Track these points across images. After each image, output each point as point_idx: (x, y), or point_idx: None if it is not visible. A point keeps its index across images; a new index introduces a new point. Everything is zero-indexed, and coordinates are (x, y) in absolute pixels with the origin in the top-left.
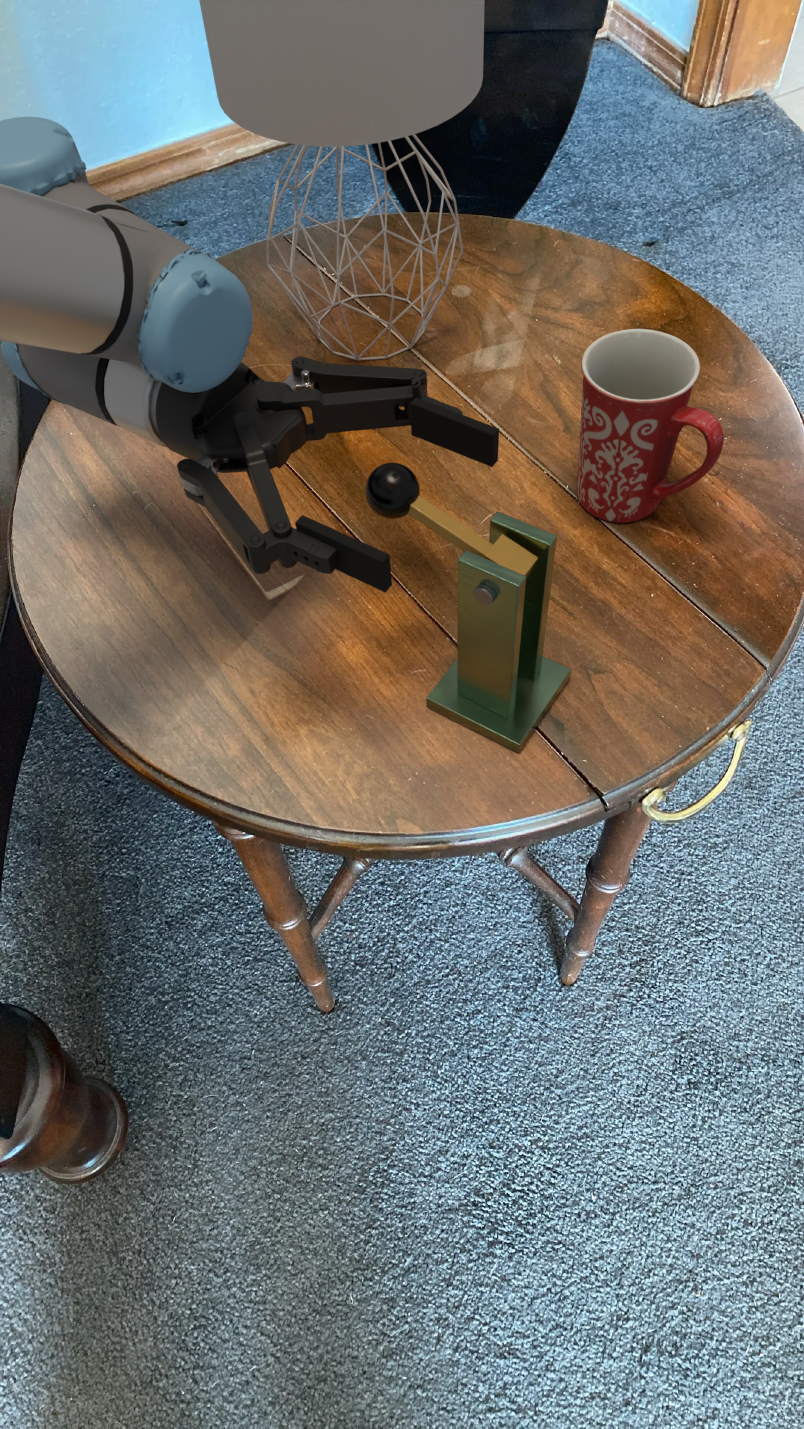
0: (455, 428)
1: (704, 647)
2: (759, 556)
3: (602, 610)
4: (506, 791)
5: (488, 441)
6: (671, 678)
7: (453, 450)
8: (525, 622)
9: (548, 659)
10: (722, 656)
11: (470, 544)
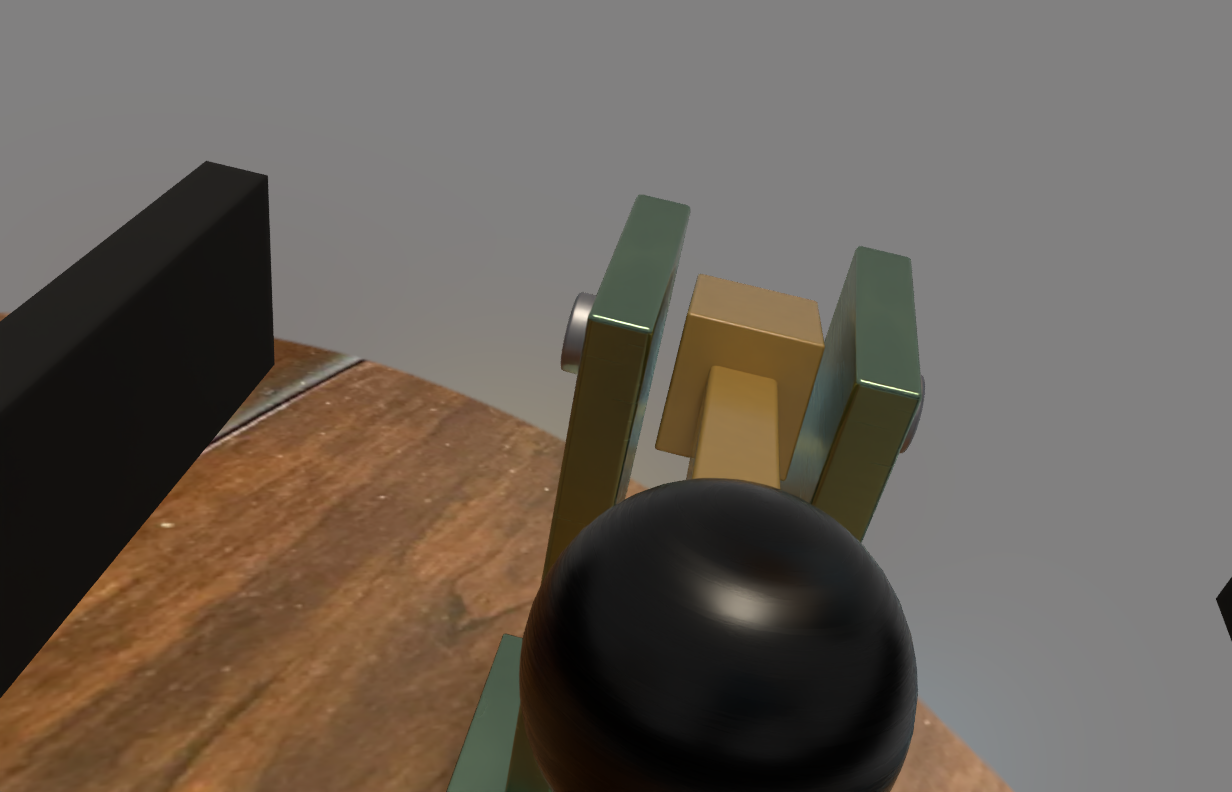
0: (139, 352)
1: (332, 434)
2: None
3: (234, 619)
4: None
5: (255, 239)
6: (437, 480)
7: (147, 510)
8: None
9: (487, 687)
10: (352, 409)
11: (774, 406)
